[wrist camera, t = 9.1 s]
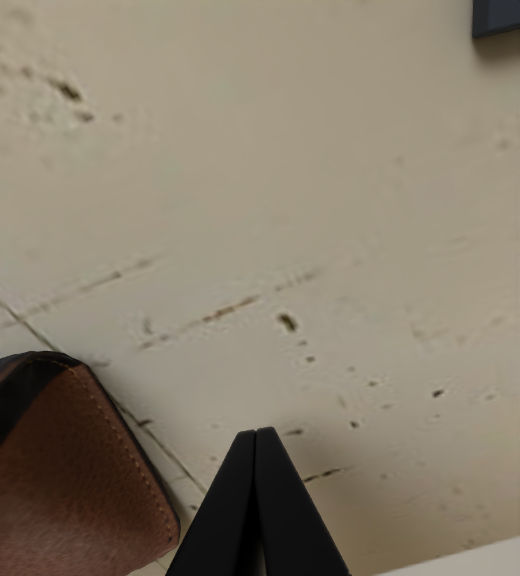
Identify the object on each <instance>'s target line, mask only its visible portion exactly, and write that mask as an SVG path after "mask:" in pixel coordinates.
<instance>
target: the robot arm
mask: <svg viewBox="0 0 520 576" xmlns="http://www.w3.org/2000/svg"><path fill="white" fill-rule="evenodd" d="M165 576H352V575H351V574H349V570H348V568H347V566H346V564H345V562H344V560H343V558H342V556H341V554H340V552H339V551H338V549H337V547H336V545H335V543H334V541H333V539H332V537H331V535H330V533H329V531H328V530H327V528H326V526H325V524H324V522H323V520H322V518H321V516H320V514H319V512H318V510H317V509H316V507H315V505H314V503H313V501H312V499H311V497H310V495H309V493H308V491H307V489H306V488H305V486H304V484H303V482H302V480H301V478H300V476H299V474H298V472H297V470H296V469H295V467H294V465H293V463H292V461H291V459H290V457H289V455H288V453H287V451H286V449H285V448H284V446H283V444H282V442H281V440H280V438H279V436H278V434H277V432H276V430H275V429H274V427H265V428H259V429H257V431H255V430H247V431H241V432H239V433H238V434H237V435H236V437H235V439H234V441H233V443H232V445H231V447H230V449H229V451H228V453H227V455H226V457H225V459H224V461H223V463H222V465H221V467H220V469H219V471H218V473H217V475H216V476H215V478H214V480H213V482H212V484H211V486H210V488H209V490H208V492H207V494H206V496H205V498H204V500H203V502H202V504H201V506H200V508H199V510H198V512H197V514H196V516H195V518H194V520H193V521H192V523H191V525H190V527H189V529H188V531H187V533H186V535H185V537H184V539H183V541H182V543H181V545H180V547H179V549H178V551H177V553H176V555H175V557H174V559H173V561H172V563H171V564H170V566H169V568H168V570H167V572H166V574H165Z"/></svg>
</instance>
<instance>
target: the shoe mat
mask: <svg viewBox="0 0 520 576" xmlns="http://www.w3.org/2000/svg"><path fill="white" fill-rule="evenodd" d="M515 29H520V0H474V5H473V28H472V37H473V38H475V39H478V38H482V37H486V36H490V35H494V34H499V33H503V32H507V31H511V30H515Z"/></svg>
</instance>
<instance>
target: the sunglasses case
mask: <svg viewBox="0 0 520 576" xmlns="http://www.w3.org/2000/svg"><path fill="white" fill-rule="evenodd" d="M180 531H181V525H180V519H179V517H178V515H177V513H176V511H175V509H174V507H173V505H172V503H171V501H170V499H169V497H168V495H167V493H166V491H165V489H164V487H163V485H162V483H161V481H160V479H159V477H158V475H157V474H156V472H155V470H154V469H153V467H152V465H151V463H150V462H149V460H148V458H147V457H146V455H145V453H144V452H143V450H142V448H141V447H140V445H139V444H138V442H137V440H136V439H135V437H134V436H133V434H132V433H131V431H130V430H129V428H128V426H127V425H126V423H125V422H124V420H123V418H122V417H121V415H120V414H119V412H118V410H117V409H116V407H115V406H114V404H113V403H112V401H111V400H110V398H109V397H108V395H107V394H106V392H105V391H104V389H103V387H102V386H101V385H100V383H99V382H98V381H97V379H96V378H95V377H94V375H93V374H92V372H91V370H90V368H89V367H88V366H87V365H86V364H85V363H83V362H81V361H79V360H77V359H74V358H72V357H70V356H69V355H67V354H65V353H60V352H53V351H40V352H35V351H29V352H25V353H21V354H14V355H11V356H8V357H4V358H1V359H0V576H126V575H127V574H129V573H131V572H132V571H134V570H137V569H140V568H142V567H144V566H146V565H147V564H149V563H151V562H153V561H155V560H156V559H158V558H161V557H163V556H164V555H165V554H166V553H167V552H169V551H171V550H172V549H174V548H176V547H177V545H178V543H179V538H180Z"/></svg>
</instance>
